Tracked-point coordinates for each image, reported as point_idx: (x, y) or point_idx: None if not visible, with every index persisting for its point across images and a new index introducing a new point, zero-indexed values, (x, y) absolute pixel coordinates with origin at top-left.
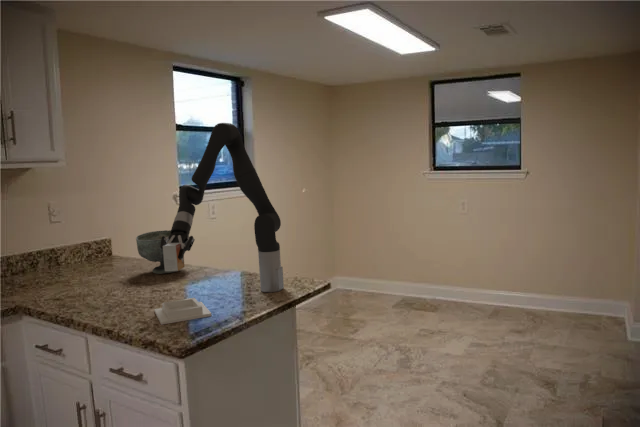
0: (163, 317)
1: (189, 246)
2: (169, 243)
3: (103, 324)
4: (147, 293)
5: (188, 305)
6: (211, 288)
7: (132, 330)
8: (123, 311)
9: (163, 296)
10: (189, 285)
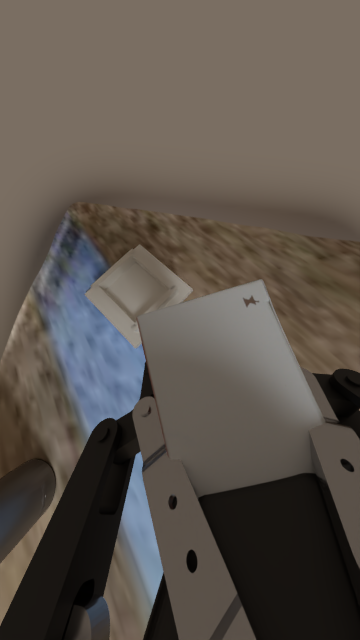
0: (148, 259)
1: (112, 488)
2: (306, 424)
3: (225, 227)
4: None
5: None
6: None
7: (165, 221)
8: (248, 279)
9: None
10: None
